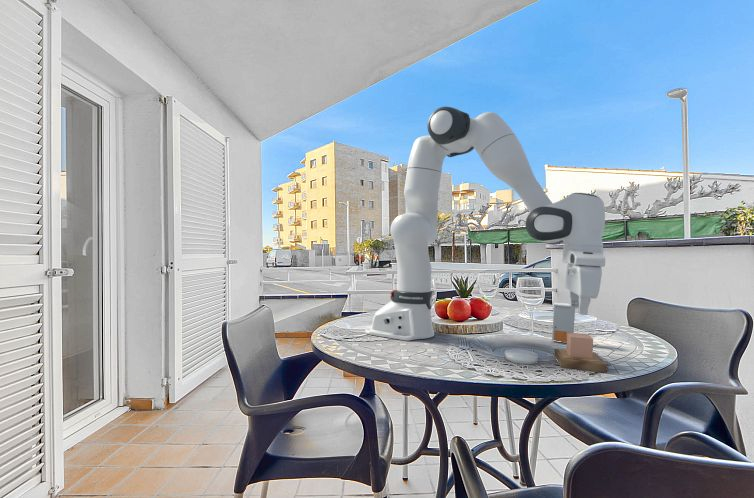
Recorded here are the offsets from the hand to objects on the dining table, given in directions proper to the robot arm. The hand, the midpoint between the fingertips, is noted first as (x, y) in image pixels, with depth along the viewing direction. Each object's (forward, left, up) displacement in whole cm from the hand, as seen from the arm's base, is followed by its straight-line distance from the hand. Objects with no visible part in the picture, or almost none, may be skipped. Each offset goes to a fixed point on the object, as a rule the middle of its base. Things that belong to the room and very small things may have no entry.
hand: (578, 311), depth 95 cm
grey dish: (-13, -2, -14) cm, 19 cm away
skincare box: (+1, +22, -14) cm, 26 cm away
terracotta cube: (+1, 0, -11) cm, 11 cm away
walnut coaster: (+1, 0, -14) cm, 13 cm away
